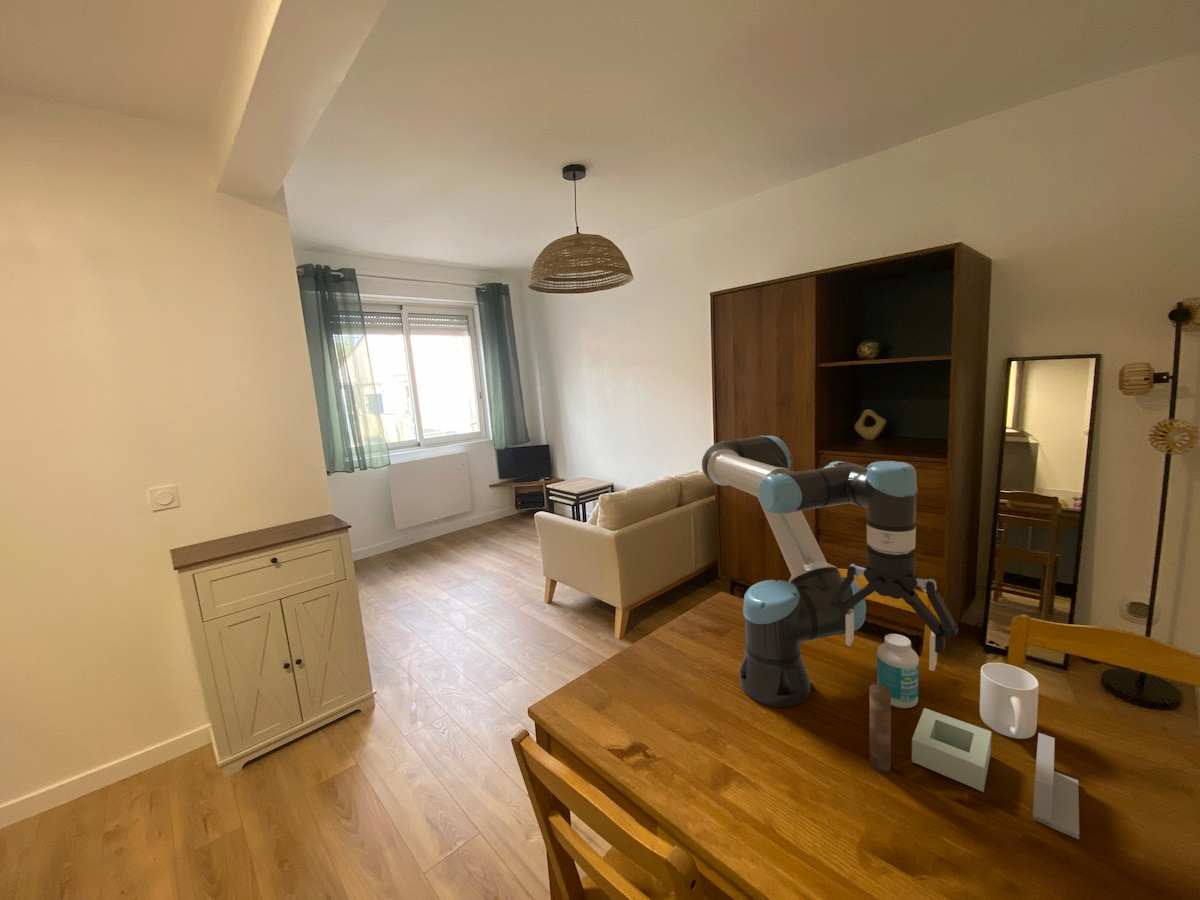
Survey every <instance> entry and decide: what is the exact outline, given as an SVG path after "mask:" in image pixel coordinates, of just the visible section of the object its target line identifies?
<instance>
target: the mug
mask: <svg viewBox="0 0 1200 900" xmlns="http://www.w3.org/2000/svg"><path fill="white" fill-rule="evenodd" d="M1039 683H1040V682H1039V681H1038V679H1037V678H1036V676H1034V675H1033V674H1032V673H1030V672H1029V671H1027V670H1025V669H1023V668H1020V667H1019V666H1015V665H1011V664H1007V663H1003V662H988V663H985V664H983V665H982V666H981V667H980V689H979V694H980V695H979V714H980V715H979V716H980V719H981V720H982V722H983V723H984V725H986V726H987V727H988V728H990V729H991V730H992V731H994V732H996V733H997V734H1000V735H1002V736H1005V737H1008V738H1012V739H1017V740H1018V739H1019V740H1024V739H1030V738H1032V737H1034V736H1035V734H1036V733H1037V724H1038V705H1039V689H1040V688H1039V687H1040V686H1039V685H1040V684H1039Z"/></svg>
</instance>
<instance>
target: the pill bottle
mask: <svg viewBox="0 0 1200 900" xmlns="http://www.w3.org/2000/svg"><path fill="white" fill-rule="evenodd" d="M918 655H919V654H918V653H917V652H916V651H915V650H914V649H913V648H912V642H911V640H910V639H909V638H908V637H907V636H905V635H902V634H897V633H889V634H885V636H884V642H883V643H881V644H880V645H879V646H878V647H877V651H876V684H880V685H883V686H885V687H887V688H888V689H889V690H890V691H891V707H895V708H900V709H910V708H911V709H912V708H914V707H915V706H917V704H918V701H919V669H920V668H919V666H920V665H919V662H920V660H919V656H918Z"/></svg>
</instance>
